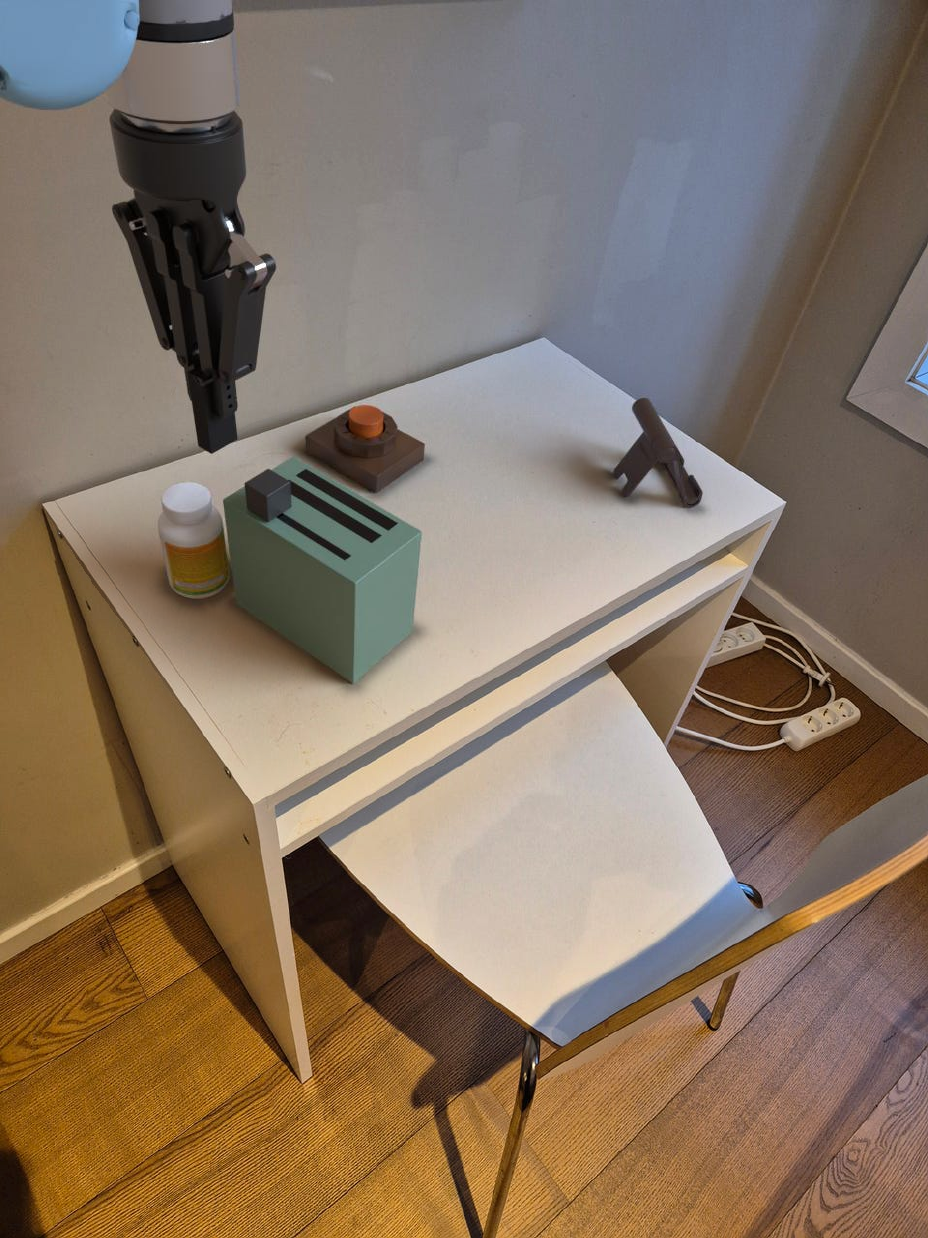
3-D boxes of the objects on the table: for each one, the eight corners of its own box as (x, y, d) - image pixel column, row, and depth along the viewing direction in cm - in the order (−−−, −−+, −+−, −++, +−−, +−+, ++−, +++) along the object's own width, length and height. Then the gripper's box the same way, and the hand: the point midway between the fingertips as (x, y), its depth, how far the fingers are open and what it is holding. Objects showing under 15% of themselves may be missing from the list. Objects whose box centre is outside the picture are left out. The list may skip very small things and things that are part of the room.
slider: (246, 508, 68) (243, 482, 66) (270, 493, 69) (268, 467, 67) (268, 522, 67) (266, 496, 65) (292, 507, 68) (290, 481, 67)
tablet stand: (698, 509, 94) (723, 445, 88) (631, 511, 92) (651, 447, 86) (671, 459, 99) (692, 397, 93) (606, 461, 98) (624, 397, 92)
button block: (305, 452, 93) (304, 421, 90) (354, 422, 98) (355, 391, 95) (376, 493, 90) (377, 462, 87) (423, 460, 94) (426, 429, 91)
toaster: (235, 603, 77) (222, 498, 68) (298, 558, 82) (293, 455, 73) (353, 684, 72) (355, 583, 64) (412, 631, 77) (422, 530, 68)
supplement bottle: (240, 586, 79) (230, 503, 72) (185, 608, 76) (169, 525, 69) (213, 551, 81) (201, 469, 74) (158, 572, 79) (141, 488, 72)
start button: (341, 428, 91) (341, 414, 89) (364, 414, 93) (364, 400, 91) (367, 443, 89) (367, 428, 88) (389, 428, 92) (390, 414, 90)
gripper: (302, 128, 50) (312, 457, 67) (152, 67, 55) (197, 390, 72) (203, 158, 46) (241, 501, 63) (48, 89, 50) (123, 427, 67)
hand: (218, 442), depth 67 cm, fingers closed
